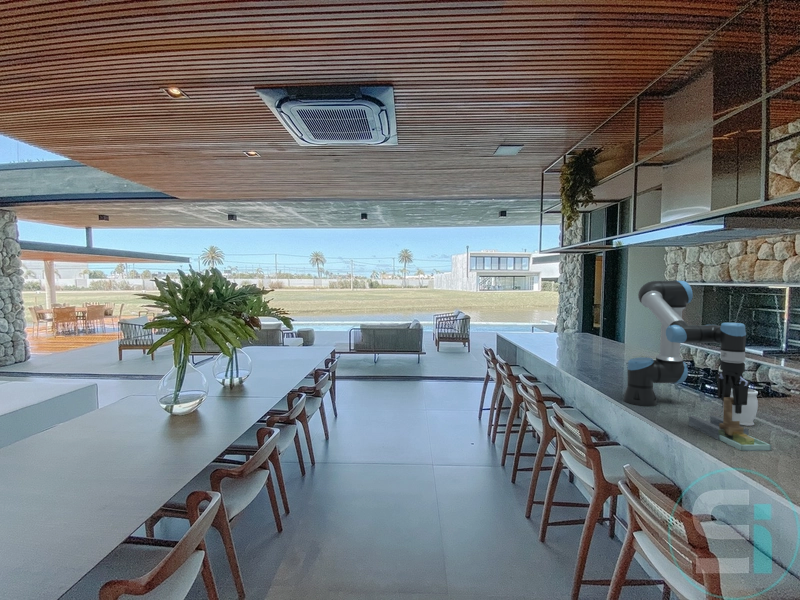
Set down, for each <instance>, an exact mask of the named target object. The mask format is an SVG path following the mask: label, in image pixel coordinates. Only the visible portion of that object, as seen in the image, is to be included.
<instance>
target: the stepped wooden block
mask: <svg viewBox="0 0 800 600" xmlns="http://www.w3.org/2000/svg"><path fill="white" fill-rule="evenodd" d="M732 404H734V399H733V397H724V416H723V415H722V418H723V423H719V427H720V428H723V429H725V433H726V434H728V435H733V432H742V433H744V428H745V427H744V426H742V425H740V421H732ZM741 426H742V427H741ZM743 427H744V428H743Z"/></svg>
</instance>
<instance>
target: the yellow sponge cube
mask: <svg viewBox="0 0 800 600" xmlns="http://www.w3.org/2000/svg"><path fill="white" fill-rule="evenodd" d="M749 436H750V435H749ZM749 436H740V437H739V443H740V444H742V445H754V438H755V437H754V438H752V437H753V436H751V437H749Z"/></svg>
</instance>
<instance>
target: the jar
mask: <svg viewBox="0 0 800 600" xmlns="http://www.w3.org/2000/svg"><path fill="white" fill-rule="evenodd" d="M758 394H759V391H757V390H755V389H751V388H748V397H747V405H742V412H741V414H740V426H748V427H749V426H755V423H754V420H755V419H756V416H757V412H758V408H759V401H758V398H757V395H758ZM730 397H733V391H732V390H731V395H730Z"/></svg>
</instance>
